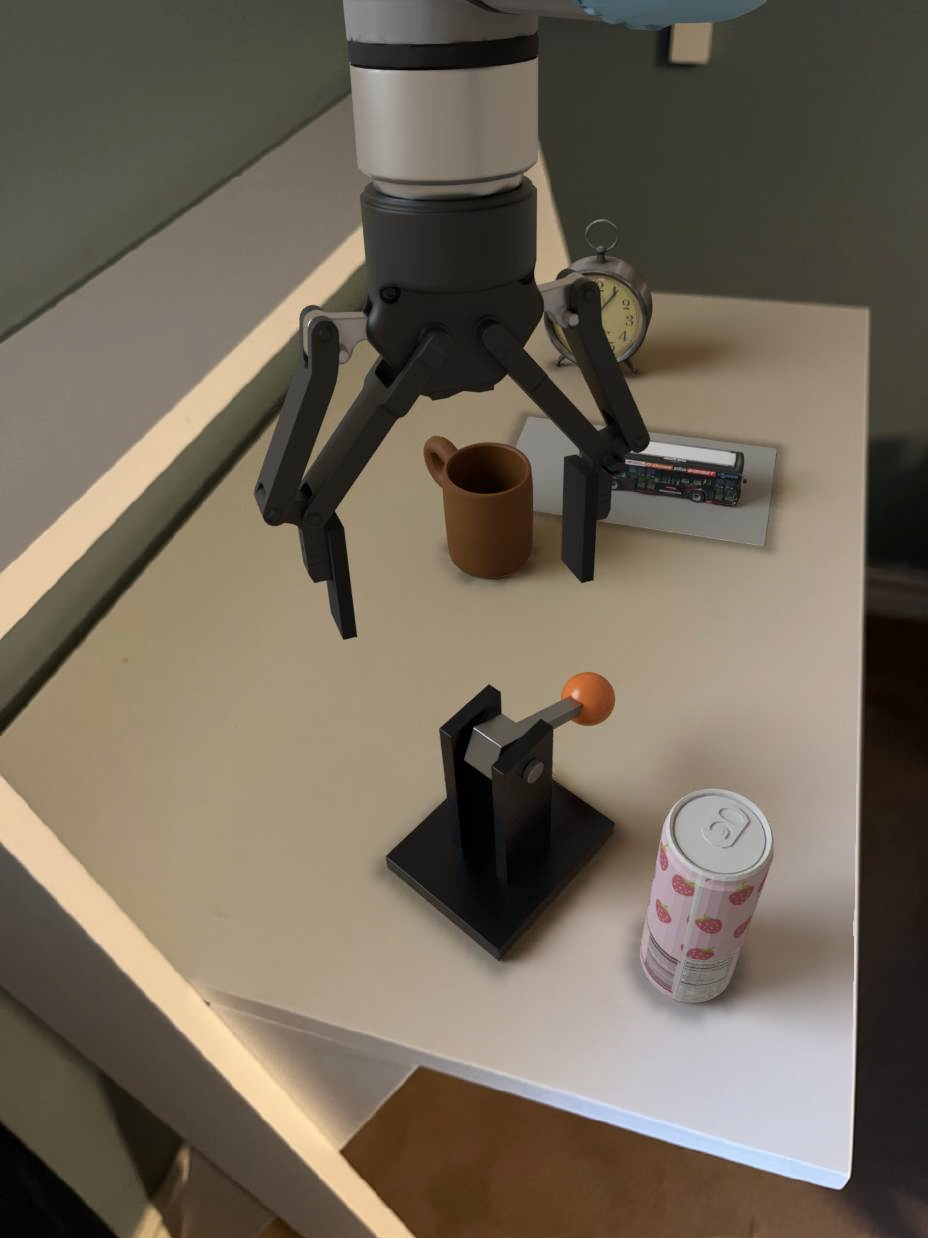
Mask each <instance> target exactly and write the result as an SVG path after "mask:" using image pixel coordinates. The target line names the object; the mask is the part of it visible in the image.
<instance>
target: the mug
mask: <svg viewBox="0 0 928 1238" xmlns="http://www.w3.org/2000/svg"><path fill="white" fill-rule="evenodd" d="M515 447H516V446H512V445H510V444H506V443H501V442H495V441H493V442H491V441H490V442H489V441H487V442H486V441H485V442H477V443H472V444H469V445H466V446H463V447H461V448H459V449H458V448H457V447H456V445H454V443H453V442H452V441H450V439H448V438H446V437H444V436H440V435H433V436H431V437H430V438H428V439H427V440H426V441H425V442H424V446H423V459H424V463H425V465H426V466H425V467H426V468H427V471H428V472H429V474H430V476H431V477H432V479H433V481H434V482H435V483H436V484H437V485H438V486H439V487H440V488H441V489H442V501H443V511H444V524H445V533H446V542H447V551H448V554H449V557H450V559H451V562H452V563H453V564H454V565H455V566H456V568H458V569H459V570H460V571H461V572H462V573H465V574H467V575H470V576H473V577H476V578H480V579H498V578H502V577H503V578H504V577H507V576H509V575H512V574H514V573H516V572H518V571H519V570H520V569H522V568H523V567H524V566H525V565H526V563H527V562H528V561H529V559H530V557H531V555H532V552H533V546H534V545H533V544H534V511H533V479H532V468H531V464H530V461H529V460H528V458H527V457H526V455H525V454H524V453H523V452H521V451H520V450H518V449H516V448H515Z"/></svg>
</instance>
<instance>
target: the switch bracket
mask: <svg viewBox="0 0 928 1238" xmlns="http://www.w3.org/2000/svg"><path fill="white" fill-rule="evenodd" d="M500 714H503V709H502V692H501V690H499V689H498V688H496V687H494V686H493V685H491V684H490V683H489V684H486V686H485V687H484V688H482V689H481V690H480V691H479V692H478V693H477V694H476V695H475V696H474V697H472V698H471V699H470V700H469V701H468V702H467V703H466V704H464V706H462V707H461V708H460V709H459V710H458V711H457V712H456V713H455V714H454V715H453V716H451V717H450V718H448V719H447V720H446V722H444V724H442V725H441V726H440V727H439V728H438V732H439V733H438V734H439V741H440V750H441V758H442V767H443V775H444V784H445V792H446V793H445V794H446V798H445V799H444V800H443V801H442V802H441V803H440V804H439V805H438V806H437V807H435V808H434V810H432V811H431V812H430V813H429V814H428V815H427V816H426V817H425V818H424V819H423V820H422V821H421V822H419V824H417V825H416V827H415V828H414V829H413V830H411V831H410V832H409V833H408V834H407V835H406V836H405V837H404V838H403V839H402V840H401V841H400V842H399V843H398V844H396V846H395V847H393V849H392V850H390V851H389V852H388V853H387V854H386V855H385V861H386V866H387V869H389V870H390V871H391V872H392V873H393V874H395V875H396V876H397V877H398V878H399V879H401V880H402V881H403V882H404V883H405V884H407V885H408V886H409V887H410V888H411V889H412V890H414V891H415V892H416V893H417V894H418V895H420V896H421V897H422V898H423V899H424V900H426V901H427V903H429V904H430V905H431V906H432V907H434V908H435V909H436V910H437V911H438V912H439V913H441V914H442V915H443V916H444V917H445V918H447V919H448V920H449V921H450V922H452V924H453V925H455V926H456V927H458V928H459V930H460V931H462V932H463V933H465V934H466V935H467V936H468V937H469V938H470V939H472V940H473V941H474V942H475V943H476V944H477V945H479V946H480V947H481V948H482V949H484V950H485V951H486V952H487V953H488V954H490V955H491V956H492V957H493V958H494V959H495V960H497V962H501V961H502V959H504V957H505V956H506V955H507V954H508V952H509V951H511V950H512V948H513V947H514V946H515V945H516V944H517V943H518V942H519V940H521V939H522V937H523V936H524V935H525V934H526V932H528V930H529V929H530V928H531V927H532V925H534V923H536V922H537V920H538V919H539V918H540V917H541V916H542V914H544V912H545V911H546V910H547V909H548V908H549V907H550V906H551V904H552V903H553V902H555V900H556V899H557V898H558V897H559V896H560V894H561V893H562V892H563V891H564V890H565V889H567V887H568V886H569V884H571V882H573V880H574V879H575V878H576V877H577V876H578V875H579V874H580V873H581V871H582V870H583V869H584V868H585V867H586V865H588V863H589V862H590V861H591V860H592V859H593V858H594V857H595V856H596V854H597V853H598V852H599V851H601V848H603V846H604V845H605V844H606V843H608V841H609V840H610V839H611V838H612V837H613V835H614V834H615V827H616V821H614V820H613V819H611V818H609V817H608V816H606V815H605V814H604V813H603V812H601V811H599V810H598V809H597V808H595V807H594V806H592V805H591V804H590V803H588V802H587V801H586V800H584V799H582V798H581V797H579V796H578V795H576V794H575V793H574V792H572V791H570V790H569V789H568V788H566V787H565V786H564V785H562V784H560V783H559V782H558V781H556V780H555V779H553V769H554V767H553V765H554V764H553V763H554V730H555V729H554V727H553V726H552V725H550V724H549V723H547V722H546V721H544V720H543V719H539V720H538V721H537V722H536V723H535V724H534V725H533V726H532V727H531V728H530V729H529V730H528V731H527V732H526V733H525V734H524V735H523V736H522V737H521V738H520V739H519V740H518V741H516V742H515V743H514V744H513V745H512V746H511V747H510V748H509V749H508V750H507V751H506V752H505V753H504V754H503V755H502V756H501V757H500V758H499V759H498V760H497V761H496V762H495V763H494V764H493V765H492V766H491V775H492V779H490V778H488V777H487V776H486V775H484V774H483V773H481V772H480V771H479V770H477V769H476V768H475V767H473V766H472V765H470V764H469V763H468V762H466V761H465V760H464V758H465V754H466V751H467V748H468V744H469V741H470V738H471V734H472V731H473V728H474V727H475V726H477V725H480V724H482V723H484V722H486V721H488V720H490V719H492V718H494V717H496V716H498V715H500Z"/></svg>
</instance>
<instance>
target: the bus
mask: <svg viewBox="0 0 928 1238" xmlns="http://www.w3.org/2000/svg"><path fill="white" fill-rule="evenodd" d="M592 425H593V426H594V427H595V428H596V429H597V430H598V431H599V430H601V429H603V428H604V427H606V425H605V426H604V425H598V424H592ZM648 433H649V435H650V443H649V445H648V447H647V448H646V449H645V450H644V451H642V452H640V453H635V452H633V451H631V452H629V453H628V454H626V455H624V456H623V457H624V459H625V462H626V465H625V468H624V470H623V471H622V473H620V474H619V475H617V476H614V477H613V480H612V493H611V494H612V496H611V510H610V512H609V515H608V517H607V519H602V520H598V521H597V522H604V523H610V524H617V525H623V526H631V527H636V528H641V529H650V530H656V531H662V532H668V533H669V532H670V533H675V534H680V535H681V534H682V535H689V536H694V537H695V536H696V537H702V538H708V539H716V540H722V541H727V542H735V543H742V544H749V545H754V546H761V547H765V544H766V539H767V538H766V537H767V529H768V520H769V513H770V505H771V498H772V489H773V482H774V475H775V467H776V466H775V465H776V458H777V451H778V449H777V448H775V447H768V446H758V445H750V444H743V443H735V442H729V441H720V440H712V439H704V438H696V437H689V436H682V435H675V434H673V435H672V434H666V433H660V432H659V433H658V432H651V431H648ZM514 447H515V448H516V449H518V450H520V451H521V452H523V453H524V454H525V455H526V457H527V458H528V460H529V461H530V464H531V468H532V479H533V512H539V513H545V514H550V515H551V514H552V515H557V516H558V515H559V516H562V506H563V472H564V457H565V456H570V455H575V454H577V455H578V456H579V457H580V458H581V451H580V450H579V449H578V448H577V447H576V446H575V445H574V444H573V442H572V441H571V440H570V439H569V438H568V437H567V436H566V435H565V434H564V433H563V432H562V431H561V430H560V429H559V428H558V427H557V426H556V425H555V424H554V423H553V422H552V420H551V419H550V418H544V417H543V418H542V417H535V416H527V419H526V421H525V423H524V426H523V428H522V430H521V433H520V436H519V438H518V439H517V442H516V445H515V446H514Z"/></svg>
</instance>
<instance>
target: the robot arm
mask: <svg viewBox="0 0 928 1238" xmlns="http://www.w3.org/2000/svg"><path fill="white" fill-rule="evenodd" d="M766 2H768V0H342V6H343V7H342V8H343V15H344V27H345V35H346V41H347V55H348V62H349V74H350V75H349V76H350V87H351V100H352V114H353V126H354V139H355V140H354V141H355V142H354V143H355V152H356V155H355V156H356V167H357V168H358V170H360V172H361V173H363V174H364V175H365V176H367V177H369V178H370V179H371V180H372V181H370V182H369V183H367V184H366V185H365V186H364V189H363V191H362V192H361V194H359V203H360V215H361V226H362V235H363V247H364V248H363V249H364V259H365V271H366V281H367V295H366V299H365V303H364V305H363V308H362V310H361V311H342V312H341V311H339V312H327V311H325V310H324V309H323V307H321V306H319V305H318V304H317V305H316V304H309V305H306V306H305V307H304V308H303V309H302V310H301V311H300V314H299V317H298V318H299V319H298V322H299V324H298V325H299V326H298V327H299V329H298V330H299V358H298V360H297V364H296V366H295V369H294V373H293V375H292V378H291V381H290V384H289V386H288V390H287V392H286V395H285V399H284V401H283V404H282V407H281V410H280V413H279V416H278V419H277V422H276V424H275V428H274V431H273V434H272V436H271V439H270V442H269V445H268V448H267V451H266V454H265V457H264V460H263V462H262V466H261V470H260V471H259V475H258V477H257V481H256V483H255V485H254V488H253V497H254V499H255V502H256V505H257V507H258V509H259V512H260V514H261V516H262V519H263V521H264V522H265V523H266V525H268V526H269V527H280V526H282V525H283V524H288V525H294V526H296V527H297V531H298V537H299V538H298V539H299V544H300V545H299V546H300V551H301V557H302V563H303V565H304V568H305V569H306V572H307V574H308V576H309V578H310V579H311V580H312V582H313V583H314V584H317V583H322V582H326V587H327V595H328V603H329V609H330V610H329V611H330V615H331V616H332V618H333V620H334V623H335V626H336V628H337V630H338V632H339V634H340V636H341V639H342V640H343V641H345V640H349V639H354V638H358V630H357V623H356V614H355V606H354V598H353V589H352V580H351V573H350V564H349V556H348V547H347V539H346V531H345V526H344V525H343V522H342V521H341V519H340V518H339V515H338V513H337V512H336V510H337V509H338V507H339V506H340V504H341V503H342V501H343V500H344V498H345V497H346V495H347V494H348V492H349V491H350V489H351V488H352V487H353V485H354V484H355V482H356V481H357V480H358V478H359V477H360V475H361V474H362V472H363V471H364V470H365V468H366V466H367V465H368V463H369V462H370V460H372V457H373V456H374V455H375V453H376V452H377V450H378V449H379V447H380V446H381V444H383V443H382V442H383V441H384V440H385V439H386V437H387V436H388V434H389V432H390V431H391V430H392V428H393V427H394V426H395V424H396V422H397V420H399V419H401V418H404V417H405V416H406V415H408V413H409V412H410V410H411V409H412V408H413V406H414V405H415V403H416V402H417V400H418V399H419V397H420V396H423V397H427V398H429V399H430V401H431V402H434V401H439V400H445V399H449V398H451V397H454V396H456V395H458V394H460V393H463V392H467V393H478V394H479V393H485V392H491V391H495V386H496V385H498V384H499V383H500V382H501V381H503V380H504V379H505V377H506V376H508V377H509V378H510V379H511V381H513V382H514V383H515V384H516V385H517V386H518V387H519V389H521V390H522V392H524V393H525V394H526V396H528V398H529V399H530V400H531V401H532V402H533V403H534V404H535V405H536V406H537V407H538V408H539V410H541V412H543V414H545V415H546V417H547V418H548V419H551V420H552V422H553V423H554V424H555V425H556V426H557V427H558V428H559V429H560V430H561V431H562V432H563V433H564V434H565V435H566V436H567V437H568V438H569V439H570V440H571V441H572V442H573V444H574V445H575V446H576V447H577V448H578V449H579V450H580V451H581V458H580V457H579V456H578V455H577V454H575V455H570V456H565V457H564V472H563V506H562V515H561V540H560V541H561V542H560V543H561V544H560V545H561V546H560V549H561V550H560V561H561V562H562V564H564V565H565V566H566V567H567V568H568V570H569V571H570V572H571V573H572V575H573V576H574V577H575V578H576V579H577V580H578V581H579V583H580V584H585V583H589V582H592V581H594V580H595V565H596V564H595V563H596V549H597V548H596V547H597V546H596V545H597V527H598V522H599V521H598V520H602V519H607V517H608V515H609V512H610V510H611V496H612V494H611V493H612V480H613V477H614V476H617V475H619V474H620V473H622V471H623V470H624V468H625V465H626V462H625V459H624V457H623V456H624V455H626V454H628V453H629V452H631V451H633V452H635V453H640V452H642V451H644V450H645V449H646V448H647V447H648V445H649V443H650V435H649V433H648V432H649V431H648V428H647V426H646V424H645V421H644V419H643V417H642V415H641V412H640V410H639V408H638V405H637V403H636V401H635V398H634V396H633V394H632V391H631V389H630V387H629V384H628V382H627V380H626V378H625V375H624V373H623V371H622V369H621V366H620V364H618V361H617V359H616V357H615V355H614V352H613V350H612V348H611V345H610V343H609V341H608V338H607V336H606V334H605V332H604V329H603V327H602V311H601V293H600V288H599V286H598V285H597V283H595V282H593V281H592V280H590V279H588V278H587V277H585V276H583V275H582V274H580V273H578V272H576V271H575V270H573V269H570V268H567V267H566V268H563V269H561V270H559V272H558V273H557V275H556V277H555V278H554V279H555V280H552V281H548V282H545V283H540V284H537V281H536V277H535V271H536V270H535V269H536V264H537V259H538V257H537V255H538V254H537V253H538V251H537V250H538V249H537V248H538V188H537V186H535V185H534V183H533V180H531V179H530V177H528V176H526V175H525V173H527V172H528V171H530V170H531V169H532V168H533V167H534V166H535V165H536V164H537V163H538V159H539V54H540V53H539V52H540V51H539V50H540V36H539V32H540V31H539V17H546V18H547V17H548V18H559V19H569V20H570V19H571V20H572V19H573V20H582V21H594V22H603V23H607V24H609V25H618V24H623V25H624V26H626V27H627V28H628V29H630V30H636V31H655V32H656V31H657V32H659V31H661V30H664V29H665V28H666V27H669V26H672V25H675V24H703V23H704V24H709V23H710V24H711V23H721V22H725V21H730V20H733V19H737V18H739V17H742V16H744V15H746V14H748V13H751V12H752V11H755V10H757V9H758V8H760V7H761V6H763V5H764V4H766ZM544 312H547V313H548V316H549V318H550V319H551V321H553V322H554V323H556V324H557V325H558V326H560V327H561V329H562V331H563V334H564V336H565V338H566V340H567V342H568V345H569V347H570V349H571V351H572V353H573V355H574V357H575V360H576V362H577V364H576V365H577V366H578V368H579V370H580V372H581V374H582V376H583V379H584V382H585V383H586V385H587V388H588V389H589V391H590V393H591V395H592V398H593V400H594V402H595V404H596V407H597V409H598V411H599V413H600V415H601V417H602V420H603V422H604V424H605V426H606V427H604V428H603V429H601V430H599V431H598V430H597V429H596V428H595V427H594V426H593V425H594V424H592V422H590V420H589V419H588V418H587V417H586V416H585V415H584V414H583V412H582V411H580V410H579V408H578V407H577V406H576V405H575V404H574V403H573V401H571V399H569V398H568V396H566V394H565V393H564V392H563V391H562V390H561V389H560V388H559V386H557V384H556V383H554V381H553V380H552V379H551V378H550V377H549V374H547V372H546V371H545V370H544V368H542V367H541V365H539V363H538V362H536V361H535V359H534V358H533V357H532V356H531V354H529V352H527V350H526V349H525V347H526V345H527V343H528V341H529V340H530V338H531V337H532V335H533V334H534V332H535V330H536V329H537V327H538V325H539V324H540V322H541V320H542V318H543V317H544ZM364 341H367V342H368V343H369V344H370V345H371V347H372V348H373V349H374V350H375V351H376V352H377V353H378V357H377V358H376V359H375V361H374V363H372V366H371V367H370V369H369V370H368V371H367V373H366V375H365V377H364V379H363V385H362V388H361V390H360V391H359V393H358V395H357V396H356V398H355V399H354V400H353V402H352V404H351V405H350V407H349V408H348V409H347V411H346V413H345V414H344V415H343V417H342V418H341V420H340V422H339V423H338V425H337V426H336V428H335V429H334V431H333V432H332V434H331V435H330V437H329V438H328V439H327V442H326V443H325V444H324V446H323V447H322V449H321V450H320V452H319V453H318V455H317V457H316V458H315V460H314V461H313V462H312V463H311V465H310V467H309V468H308V470H307V472H306V469H307V466H308V463H309V461H310V458H311V456H312V452H313V450H314V447H315V444H316V442H317V439H318V436H319V433H320V431H321V428H322V425H323V422H324V419H325V417H326V414H327V411H328V408H329V406H330V404H331V401H332V398H333V395H334V392H335V389H336V385H337V383H338V382H337V381H338V377H339V369H340V365H345V364H347V362H350V360H351V358H352V355H353V352H354V350H355V347H356V346H357V345H358V344H359V343H360V342H364ZM305 472H306V473H305Z"/></svg>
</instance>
